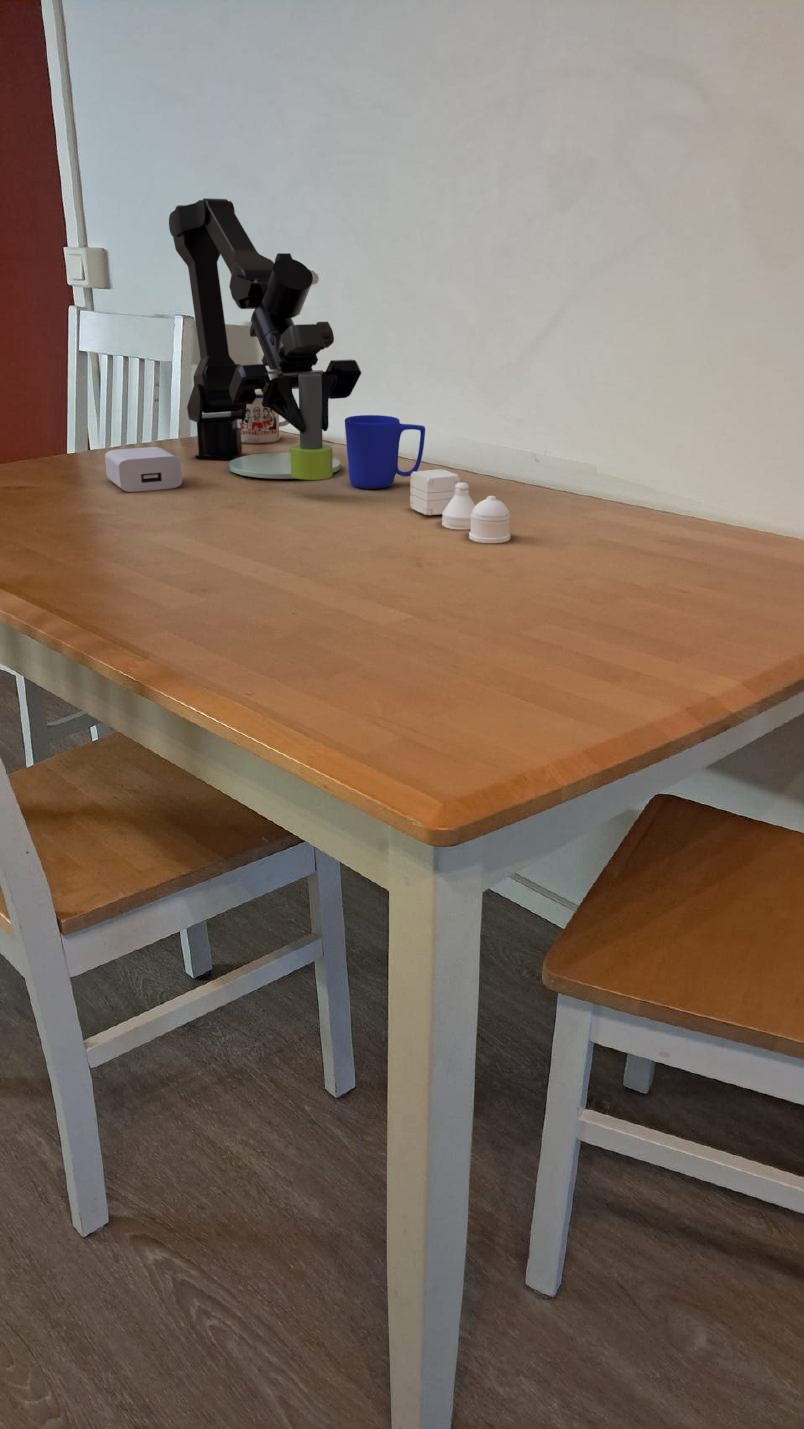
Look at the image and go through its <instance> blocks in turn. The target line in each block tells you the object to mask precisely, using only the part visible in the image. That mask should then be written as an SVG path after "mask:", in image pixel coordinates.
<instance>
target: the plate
mask: <svg viewBox="0 0 804 1429" xmlns="http://www.w3.org/2000/svg"><path fill="white" fill-rule="evenodd" d="M332 462H333V474H334V473H336V472H338V471H339V470H340V469H341V462H340V460H339V459H337V458H335V457H332ZM228 469H229V471H230V472H231V473H234V474H237V475H240V476H245V477H250V478H256V479H257V478H258V479H271V480H272V479H273V480H274V479H277V480H278V479H279V480H282V479H283V480H289V479H290V480H291V479H292V480H293V479H294V480H295V479H296V478H294V477H292V476H291V456H290V452H267V453H266V452H265V453H257V454H250V455H248V454H247V455H244V456H240V457H239V456H238V457H235V458H233V459H230V461H229V462H228Z"/></svg>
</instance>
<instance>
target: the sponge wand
mask: <svg viewBox="0 0 804 1429" xmlns="http://www.w3.org/2000/svg"><path fill="white" fill-rule="evenodd" d="M298 381H299V389H298V407H299V410H300V412H301V414H302V417H303V419H304V423H305V426H306V430H305V432H304V433H301V432H300V431H299V444H295V445H292V446H290V448H289V453H290V456H291V476H292V477H294V478H295V479H297V480H308V481H317V480H326V479H329V478H332V477H333V475H334V473H333V462H332V458H333V447H332V446H331V445H329V444H324V443H323V429H322V381H321V374H316V373H303V374H299V375H298Z"/></svg>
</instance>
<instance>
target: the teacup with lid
mask: <svg viewBox="0 0 804 1429" xmlns="http://www.w3.org/2000/svg"><path fill="white" fill-rule="evenodd" d="M255 393H256V396H257V397H256V400H255V401H254V402H253V404H247V406H246V415H245V420H241V419H239V420H237V426H238V428H240V429H241V444H249V445H258V444H259V445H262V444H273V443H276V442H278V441H279V440H280V428H281V427H286V426H288V425H289V424H290V423H289V422H288V421H287V420H284V421H281V422H280V415H279V414H277V413H276V412H274V411H273V410H271V409H270V408H268V407H263V406H262V404H261V403H262V400H263V398H264V396H263V393H262V391H261V389H255Z"/></svg>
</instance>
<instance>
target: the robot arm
mask: <svg viewBox="0 0 804 1429" xmlns="http://www.w3.org/2000/svg"><path fill="white" fill-rule="evenodd" d="M235 212H236V210H235V206H234V203H233V202H232V200H228V199H227V198H209V197H208V198H203V199H199V200H198V201H196V202H193V203H190V204H186V205H185V204H184V205H183V204H178V205H176V206H175V209H174V210H173V211H171V212H170V214H169V217H168V227H169V228H168V229H169V233H170V235H171V237H172V238H173V243H174V244H173V245H174V249H175V251H176V253H177V254H178V255H179V256H180V258H181V259H182V261H183V262H184V264H185V265H186V266H187V270H188V277H189V283H190V285H189V286H190V291H191V299H192V306H193V312H194V321H195V327H196V334H197V335H196V336H197V342H198V349H199V356H200V358H199V362H198V365H197V367H196V369H195V372H194V374H193V387H192V390H191V392H190V396H189V398H188V401H187V402H188V403H187V406H186V410H187V415H188V416H187V417H188V420H190V421H193V422H196V431H197V432H196V435H197V450H198V453H196V454H195V457H194V458H195V459H209V460H230V461H231V460H233V459H236V458H238V457H239V456H240V455H241V454H243V450H242V447H243V446H242V443H241V429H240V428H238V426H237V420H239V419H241V420H245V415H246V406H247V404H253V402H254V401H255V400H256V397H257V396H256V393H255V389H261V391H262V393H263V396H264V398H263V400H262V403H261V404H262V406H263V407H268V408H270V409H271V410H273V411H274V412H276V413H277V414H279V417H281V418H283V419H284V421H286V420H287V421H288V422H289V424H290V425H291V426H292V427H293V428H295V429H296V430H297V431H298V432H299V433H300V432H301V433H304V432H305V430H306V426H305V423H304V419H303V417H302V414H301V412H300V410H299V404H298V402H297V400H296V398H295V395H294V392H293V390H299V381H298V375H299V374H303V373H316V374H321V381H322V432H327V431H328V429H329V426H330V425H329V400H335V399H336V400H337V399H346V398H349V397H350V396H351V394H352V393H353V391H354V389H355V387H356V385H357V383H358V381H359V379H360V377H361V376H362V370H361V368H360V365H359V364H358V362H357V361H356V359H352V358H351V359H331V360H330V361H329V363H328V365H327V366H326V369H325V371H323V369H317V370H313V367H314V366H316V365H317V364H318V362H319V358H318V356H317V354H318V353H320V352H321V351H323V350H325V349H328V348H329V347H330V346H331V345H333V344H334V342H335V336H334V332H333V329H332V327H331V325H330V323H329V321H317V322H316V323H312V324H311V323H309V324H306V323H305V324H295V323H294V320H293V318H295V317H297V316H299V315H300V314H301V311H302V309H303V307H304V304H305V302H306V299H307V297H308V295H309V292H310V289H311V287H312V285H313V282H314V275H313V273H312V271H311V269H309V268H308V267H307V266H306V265H305V264H304V263H302V262H300V260H299V261H298V260H296V259H294V258H293V257H292V254H291V253H284V252H282V253H281V252H279V253H276V256H275V258H274V261H273V260H272V259H270V258H268V257H266V256H264V255H262V254H260V253H259V251H257V249H256V247H255V245H254V244H253V242H252V240H251V239H250V237H249V235H248V234H247V232H246V230H245V228H244V227H243V225H242V223H241V221H240V220H239V218H238V217H237V214H236V213H235ZM220 256H221V258H222V260H223V261H224V263H225V265H226V267H227V269H228V270H229V273H230V280H229V286H228V287H229V290H230V295H231V298H232V300H233V301H234V302H235V304H236V306H237V307H238V308H239V309H240V310H253V311H252V314H251V316H250V323H251V325H250V327H249V336H250V338H257V340H258V343H259V345H260V346H259V347H260V349H261V351H262V353H263V355H262V359H261V363H243V364H239V363H235V361H234V360H233V358H232V357H231V356H230V349H229V342H228V334H227V328H226V320H225V312H224V305H223V298H222V290H221V282H220V275H219V267H218V261H219V259H220ZM267 367H268V368H269V369H267Z"/></svg>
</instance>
